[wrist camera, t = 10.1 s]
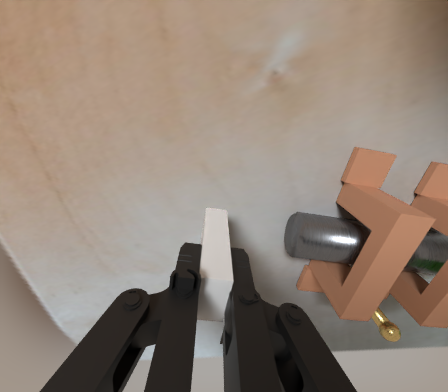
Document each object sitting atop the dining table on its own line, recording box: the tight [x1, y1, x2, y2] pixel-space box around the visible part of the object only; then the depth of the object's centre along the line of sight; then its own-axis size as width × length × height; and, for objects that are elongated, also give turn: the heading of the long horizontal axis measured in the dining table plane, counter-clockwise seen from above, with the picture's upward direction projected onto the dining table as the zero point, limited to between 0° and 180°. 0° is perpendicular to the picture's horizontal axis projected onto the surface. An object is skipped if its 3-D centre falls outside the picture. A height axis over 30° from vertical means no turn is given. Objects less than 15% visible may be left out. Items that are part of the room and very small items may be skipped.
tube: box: [285, 212, 448, 275], centre depth 19 cm, size 16×4×4 cm, turn 79°
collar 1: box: [296, 147, 436, 321], centre depth 17 cm, size 15×3×6 cm, turn 170°
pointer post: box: [371, 307, 401, 342], centre depth 19 cm, size 2×2×6 cm
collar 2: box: [384, 162, 448, 328], centre depth 18 cm, size 15×3×6 cm, turn 170°
